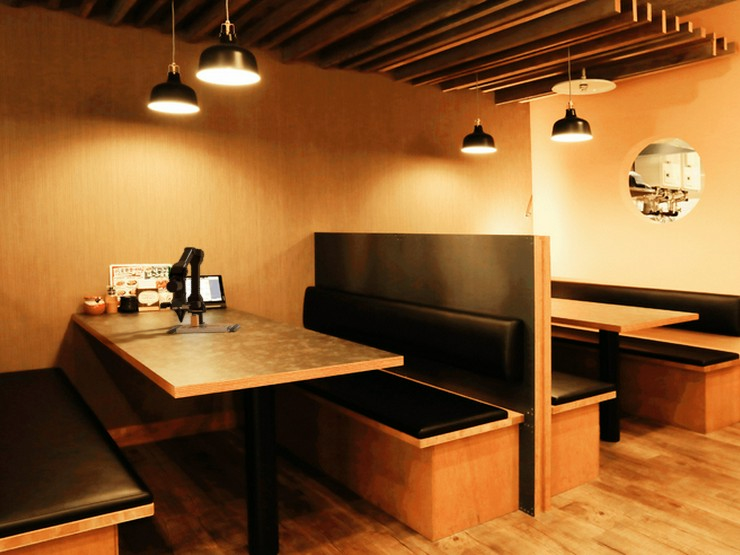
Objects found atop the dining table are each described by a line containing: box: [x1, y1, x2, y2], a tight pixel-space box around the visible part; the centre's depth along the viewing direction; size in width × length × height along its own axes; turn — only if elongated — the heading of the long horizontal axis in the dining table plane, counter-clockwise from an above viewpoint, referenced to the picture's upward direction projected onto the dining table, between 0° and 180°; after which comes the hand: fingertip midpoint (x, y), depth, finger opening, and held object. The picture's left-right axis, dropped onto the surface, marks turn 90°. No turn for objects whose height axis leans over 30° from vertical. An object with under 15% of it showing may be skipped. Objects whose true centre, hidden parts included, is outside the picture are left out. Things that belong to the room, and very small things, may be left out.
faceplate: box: [175, 322, 234, 334], centre depth 308 cm, size 15×24×2 cm, turn 92°
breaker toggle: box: [189, 313, 199, 326], centre depth 308 cm, size 4×3×6 cm
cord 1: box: [165, 324, 182, 335], centre depth 308 cm, size 18×3×2 cm, turn 2°
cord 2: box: [228, 323, 242, 333], centre depth 309 cm, size 18×3×2 cm, turn 2°
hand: (181, 322), depth 308 cm, fingers closed
